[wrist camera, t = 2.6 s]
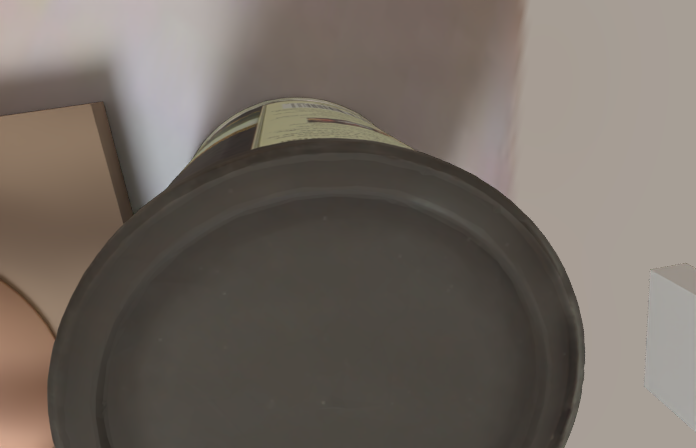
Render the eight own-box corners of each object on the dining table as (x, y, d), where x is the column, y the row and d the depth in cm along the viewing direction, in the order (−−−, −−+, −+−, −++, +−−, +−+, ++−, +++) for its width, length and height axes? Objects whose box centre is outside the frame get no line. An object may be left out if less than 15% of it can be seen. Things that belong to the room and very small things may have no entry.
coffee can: (219, 344, 25) (152, 673, 11) (148, 127, 22) (-61, 224, 8) (430, 290, 25) (604, 541, 12) (391, 72, 22) (568, 79, 9)
